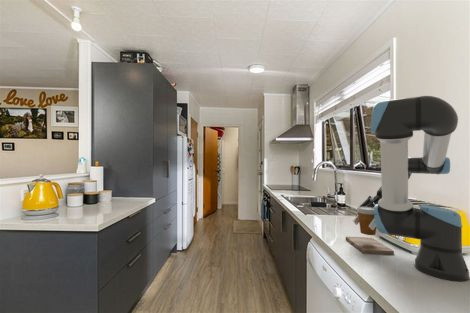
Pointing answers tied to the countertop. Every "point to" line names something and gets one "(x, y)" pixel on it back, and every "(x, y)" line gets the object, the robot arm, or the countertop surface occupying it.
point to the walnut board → (369, 245)
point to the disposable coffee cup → (366, 220)
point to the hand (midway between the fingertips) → (362, 225)
